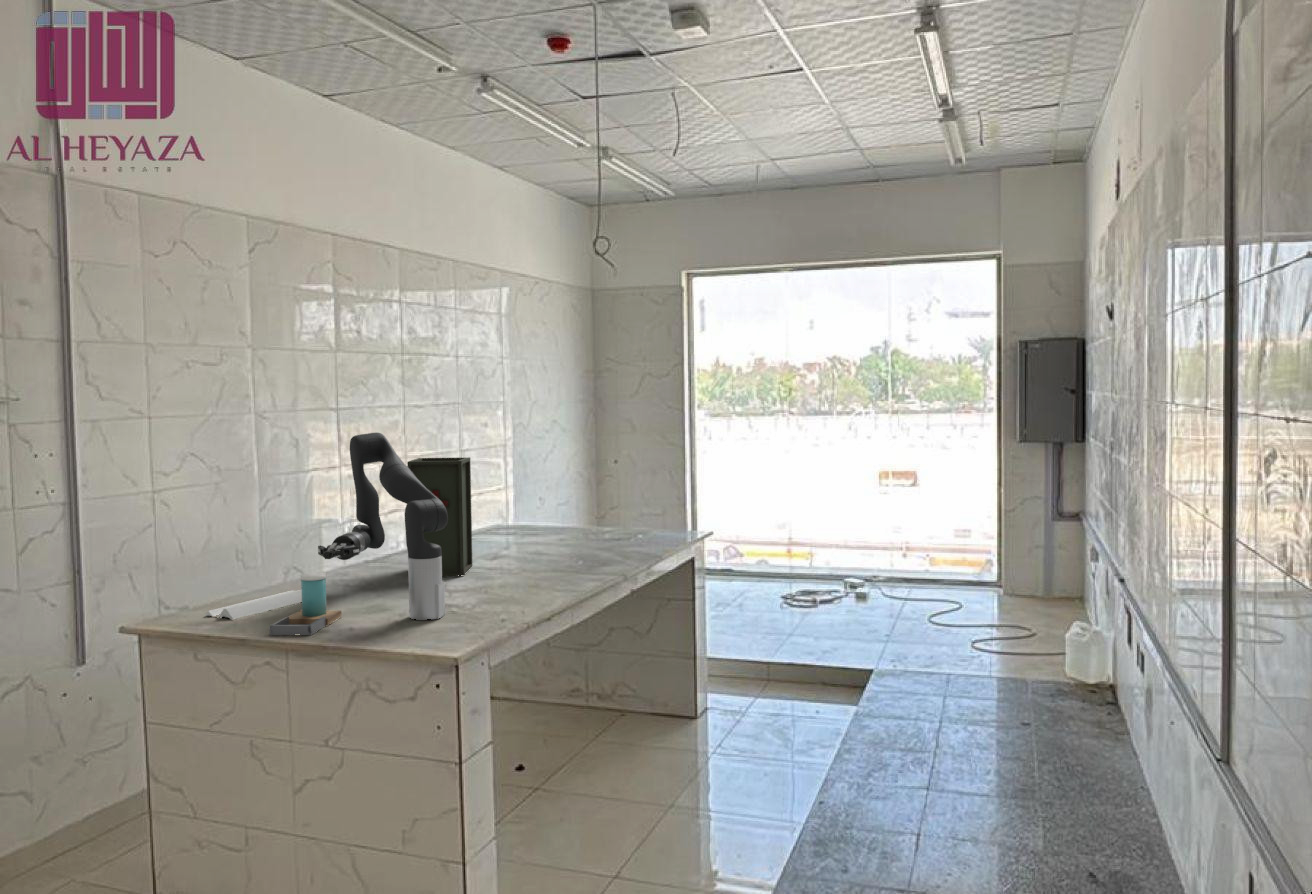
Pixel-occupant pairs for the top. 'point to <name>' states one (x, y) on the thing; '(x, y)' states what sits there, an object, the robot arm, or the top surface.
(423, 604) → the robot arm
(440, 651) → the top surface
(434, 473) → the first aid box
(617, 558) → the top surface
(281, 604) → the crown molding
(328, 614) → the light tan wooden board
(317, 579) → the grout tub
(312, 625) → the tray
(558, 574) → the top surface
